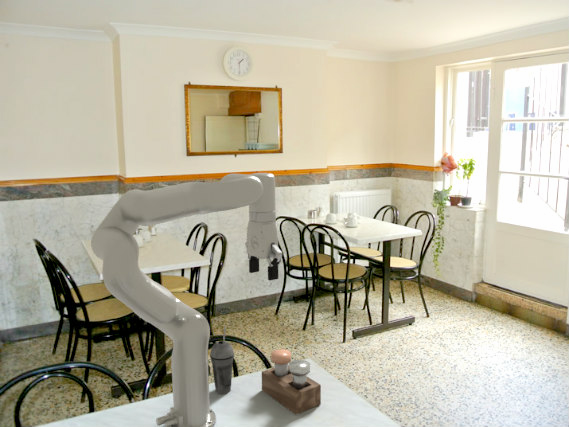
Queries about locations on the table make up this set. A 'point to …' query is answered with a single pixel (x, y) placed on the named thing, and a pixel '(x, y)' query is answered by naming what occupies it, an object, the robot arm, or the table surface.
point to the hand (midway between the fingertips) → (263, 275)
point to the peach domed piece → (281, 361)
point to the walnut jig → (291, 391)
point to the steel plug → (299, 373)
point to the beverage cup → (222, 365)
